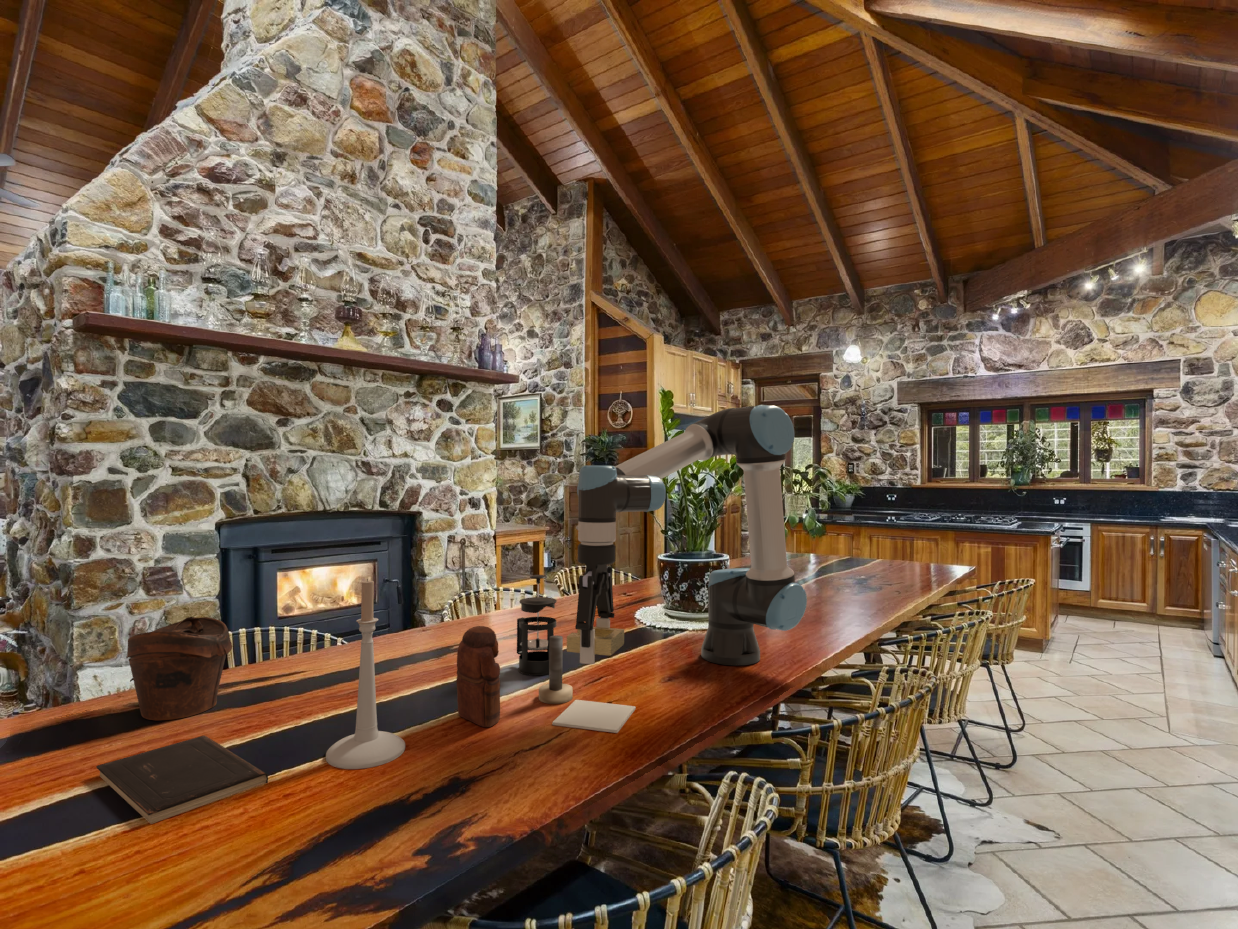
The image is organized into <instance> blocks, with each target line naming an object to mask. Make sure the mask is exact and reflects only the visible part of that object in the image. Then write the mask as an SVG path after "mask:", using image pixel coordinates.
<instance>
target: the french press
mask: <svg viewBox="0 0 1238 929" xmlns="http://www.w3.org/2000/svg"><path fill="white" fill-rule="evenodd" d="M529 578H530V579H534V580H536V582H535V583H536V584H537V586H536V587H537V588H536V589H537V592H536V593H537V596H535V597H534V596H532V597H526V598H522V599H520V600H519V604H520V607H521V608H520V611H521V612H525V613H530V614H531V613H532V614H536V616H530V617H529V616H528V617H519V618H517V619H516V655H519V656H518V669H517V671H518V672H519V674H522V675H525V676H531V677H534V676H535V677H538V676H539V677H540V676H547V675H549V643H550V636H555V635H554V634H555V633H554V631H555V630H554V629H555V628H557V619H556V618H554V617H549V616H540V612H541V611H543V610H544V609H545V608H546V607H548V608H553V609H555V608H556V603H557V599H556V598H552V597H548V596H546V597H544V596H540V584H541V580H542V579H546V578H548V577H547V575H543V574H534V575H530V576H529ZM541 622H542V623H545V624H540V623H541ZM529 623H536V624H529ZM529 631H536V639H535V638H534V639H529ZM540 631H547V632H546V635H547V636H546V637H547V638H546V639H545V638H544V639H543V638H542V639H541V638H539V636H540V635H539V632H540Z"/></svg>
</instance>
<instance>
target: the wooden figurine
mask: <svg viewBox="0 0 1238 929" xmlns="http://www.w3.org/2000/svg"><path fill="white" fill-rule="evenodd" d="M499 652H500V650H499V641H498V639H497V634H496V633H495V631H494V630H493V629H492V628H491V627H490V626H484V625H476V626H473V627H471V628H469V629H467V630H466V631H465V632H464V633H463V635H462V637H461V641H460V642H459V645H458V647H457V652H456V653H457V654H456V655H457V656H456V668H457V670H456V692H457V694H456V696H457V699H456V700H457V701H456V702H457V714H458V715H459V717H461V718H462V719H464V720H467V721H469V722H471V723H474V724H476V725H477V726H479V727H481V728H490V727H493V726H494V725H497V723H499V721H500V719H501V678H500V675H501V666H500V664H499V663H498V662H496V659H495V658H497V657H498V655H499Z"/></svg>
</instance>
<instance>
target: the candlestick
mask: <svg viewBox="0 0 1238 929" xmlns="http://www.w3.org/2000/svg"><path fill="white" fill-rule="evenodd" d="M374 590H375V582H374V580H369V579H368V578H367V579H366V580H363V581H361V600H360V601H361V604H360V605H361V606H360V607H361V610H360V611H361V612H360V614H361V617H360V618H359V619H357V620H356V621H355V622H357V623H358V625H359V627H358V630H359V632H360V633H361V637H362V638H361V641H360V656H359V672H358V673H359V674H358V687H357V688H358V689H357V700H356V703H357V704H356V705H357V706H356V718H355V719H356V720H355V730H354V734H351V735H347V736H345V737H343V738H341V739H339V740H337V741H336V742H335V743H333V744H332V745H331V746H330V747H329V748H328V749H327V750H326V752H325V760H326V763H327V764H328V765H330V766H331V767H335V768H338V769H343V770H344V769H345V770H359V769H369V768H374V767H378V766H382V765H385V764H387V763H390V762H393V761H394V760H396V759H397V758H399V757H400V756H402V754H404V752H405V750H406V742H405V740H404V739H403V738H402V737H400V736H399V735H397V734H395V733H393V732H389V731H382V730H379V729H378V718H377V717H378V716H377V701H376V700H377V697H376V695H377V694H376V693H377V692H376V677H375V676H376V674H375V654H374V653H375V651H374V650H375V649H374V640H373V633H374V631H375V630H376V623H377V622H378V621H379V618H377V617H374V599H375V598H374V597H375V594H374V593H375V591H374Z"/></svg>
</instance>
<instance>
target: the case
mask: <svg viewBox="0 0 1238 929" xmlns="http://www.w3.org/2000/svg"><path fill="white" fill-rule="evenodd" d="M126 650H127V651H126V652H127V653H126V659H128V662H129V667H130V672H131V675H132V678H130V681H129V682H130V683H131V682H132V681H133V684H134V688H135V689H134V690H135V695H136V698H137V702H138V705H139V711H140V715H141V718H143V719H146V720H148V721H156V722H157V721H159V722H160V721H170V720H171V721H172V720H179V719H183V718H188V717H192V716H195V715H198V714H201V713H204V712H206V711H208V710H210V709H212V708H214V707H215V706H216V705H217V702H218V693H219V688H220V683H221V678H222V675H223V669H224V665H225V660H226V657H227V656H226V655H228V654H229V653H231V651H232V650H233V643H232V640H231V637H230V632H229V628H228V627H227V625H226V624H225V622H223V621H221V620H219V619H217V618H213V617H208V616H205V617H203V616H202V617H195V616H189V617H186V618H184V619H182V620H181V621H176V622H174V623H171V624H169V625H165V626H163V627H160V628H159V627H158V628H157V629H155V630H151V631H147V632H142V633H138V634H135V635H132V636H130V637H128V638H127V649H126Z"/></svg>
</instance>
